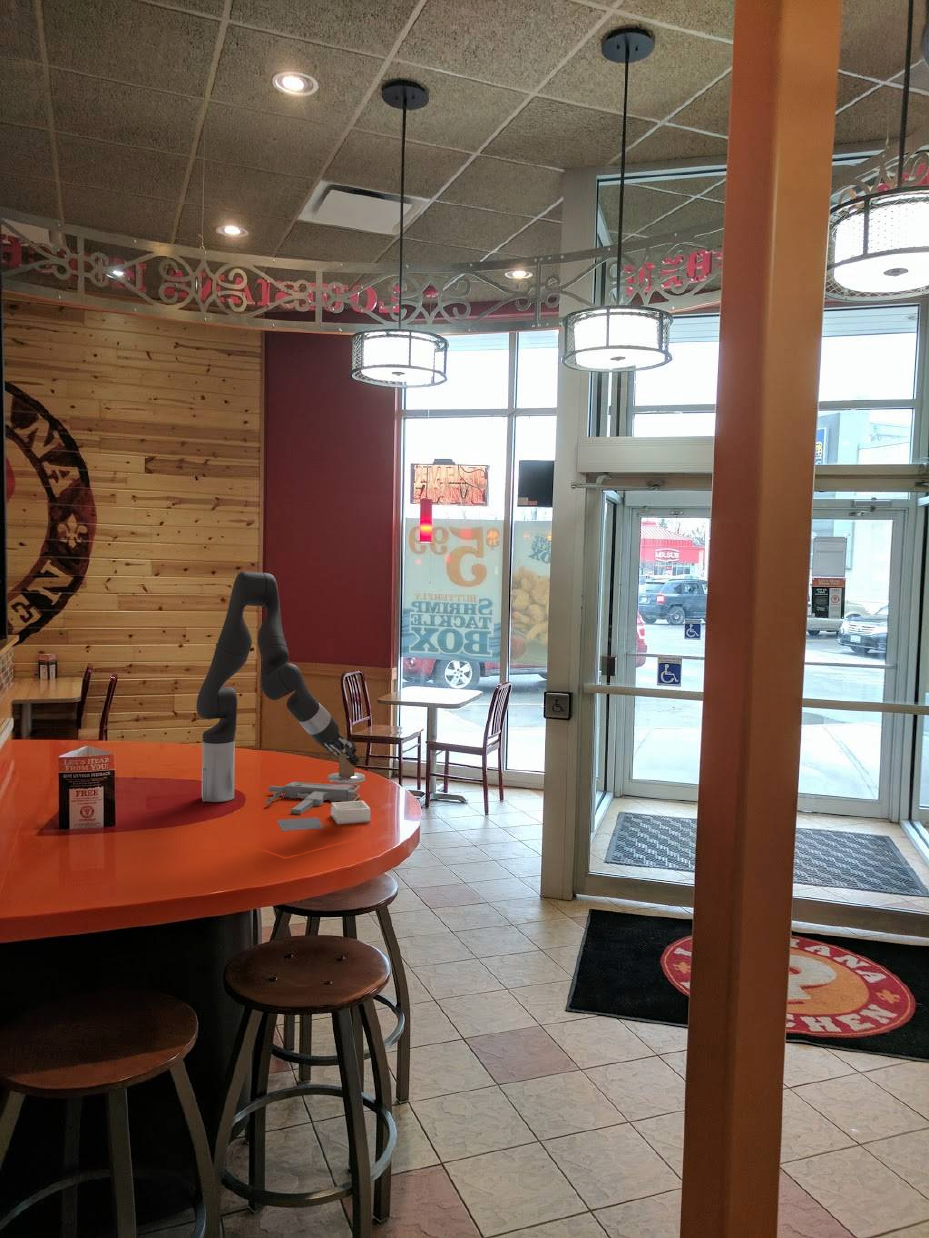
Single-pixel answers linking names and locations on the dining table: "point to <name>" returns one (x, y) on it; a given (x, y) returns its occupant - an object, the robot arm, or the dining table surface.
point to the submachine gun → (314, 794)
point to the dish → (350, 812)
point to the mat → (300, 824)
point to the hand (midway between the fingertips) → (352, 761)
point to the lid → (346, 773)
